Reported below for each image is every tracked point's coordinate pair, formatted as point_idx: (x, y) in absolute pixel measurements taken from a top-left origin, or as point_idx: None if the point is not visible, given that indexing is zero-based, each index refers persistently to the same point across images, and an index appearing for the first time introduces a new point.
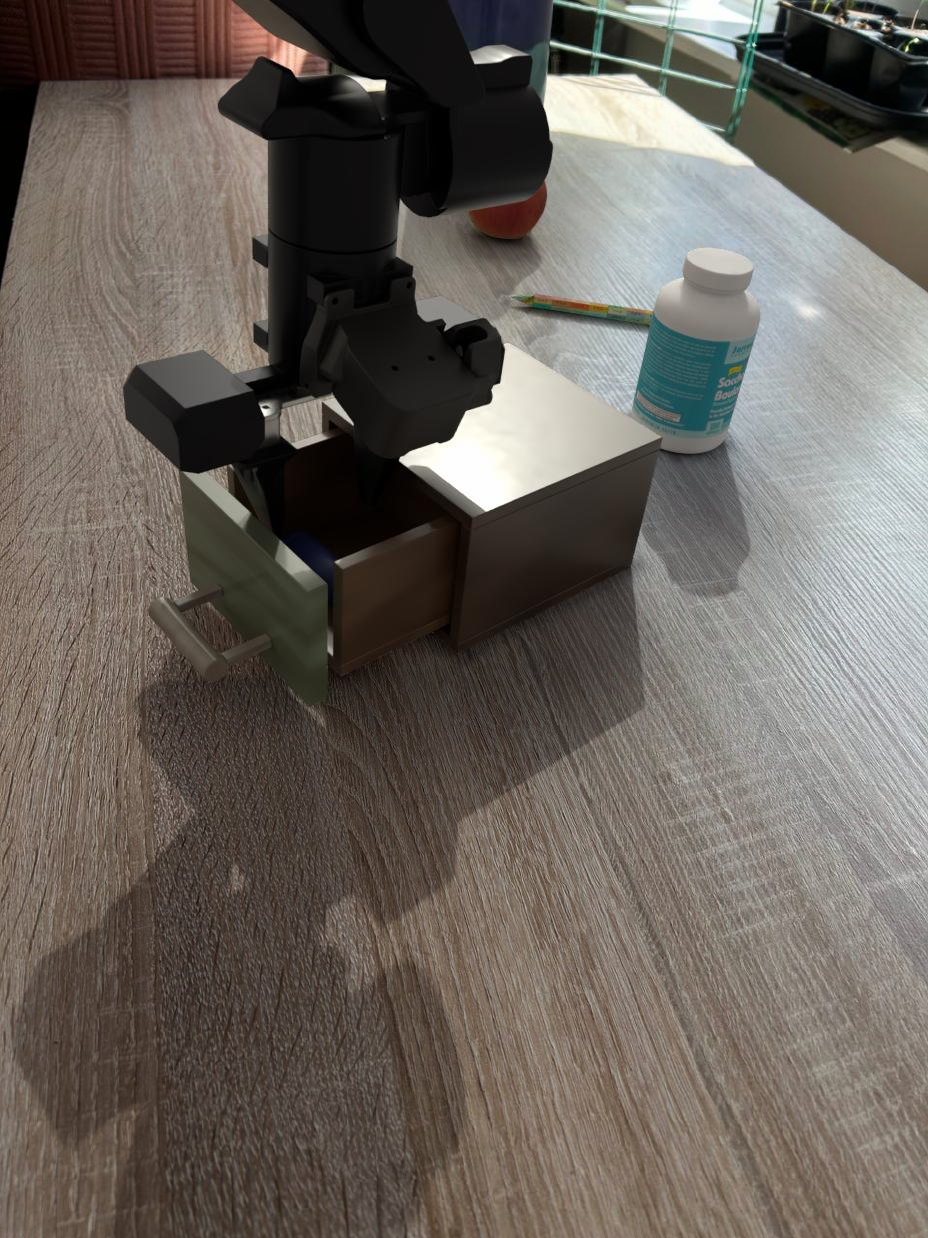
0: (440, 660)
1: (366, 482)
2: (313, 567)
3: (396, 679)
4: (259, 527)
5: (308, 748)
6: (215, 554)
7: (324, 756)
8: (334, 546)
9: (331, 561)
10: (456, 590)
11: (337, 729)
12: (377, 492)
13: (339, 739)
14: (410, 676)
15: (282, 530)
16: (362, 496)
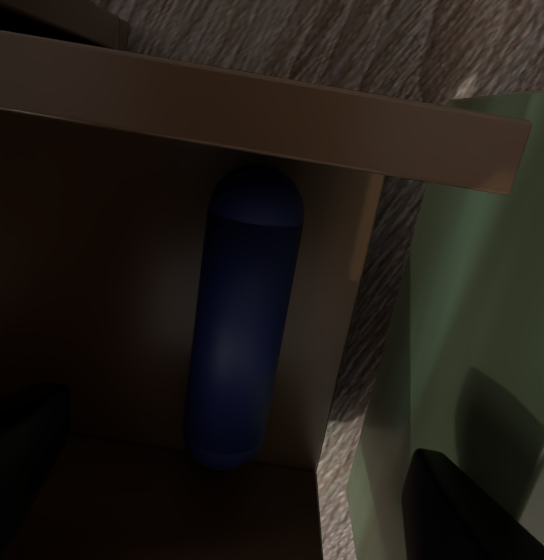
0: (167, 38)
1: (24, 465)
2: (268, 360)
3: (276, 66)
4: (540, 521)
5: (539, 50)
6: None
7: (538, 8)
8: (138, 398)
9: (231, 343)
10: (49, 12)
11: (463, 47)
12: (20, 406)
13: (482, 22)
14: (248, 50)
15: (432, 467)
16: (61, 434)
